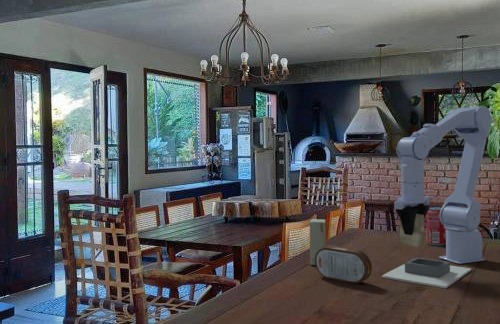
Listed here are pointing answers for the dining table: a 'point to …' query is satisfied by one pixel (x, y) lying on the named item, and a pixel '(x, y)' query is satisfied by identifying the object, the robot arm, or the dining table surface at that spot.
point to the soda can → (435, 227)
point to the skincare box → (317, 237)
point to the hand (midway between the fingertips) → (412, 233)
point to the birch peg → (414, 233)
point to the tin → (343, 264)
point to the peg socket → (428, 272)
